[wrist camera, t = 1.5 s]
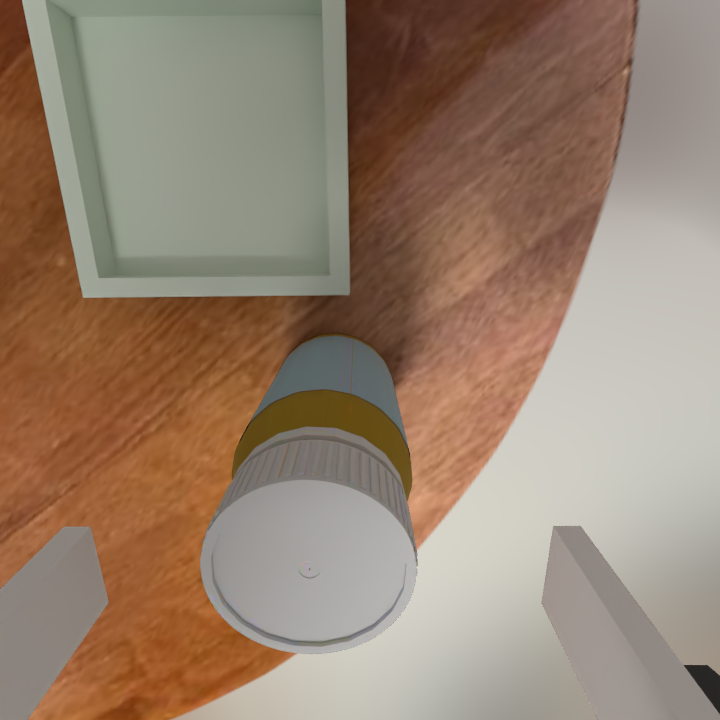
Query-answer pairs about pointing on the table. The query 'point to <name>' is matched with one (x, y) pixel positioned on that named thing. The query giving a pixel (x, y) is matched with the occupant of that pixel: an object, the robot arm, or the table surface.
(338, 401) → the bottle
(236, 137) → the pale green square tray
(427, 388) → the table surface
